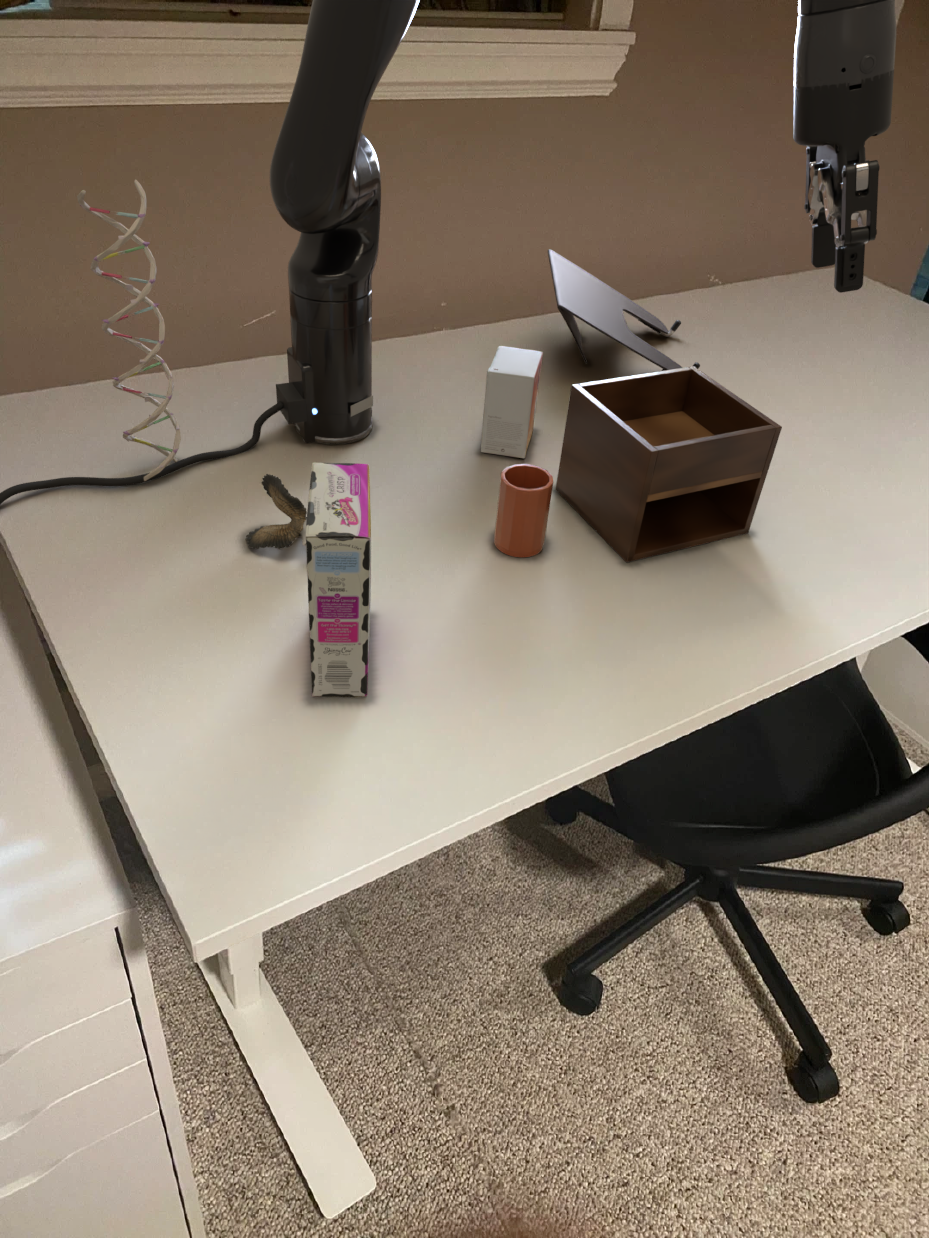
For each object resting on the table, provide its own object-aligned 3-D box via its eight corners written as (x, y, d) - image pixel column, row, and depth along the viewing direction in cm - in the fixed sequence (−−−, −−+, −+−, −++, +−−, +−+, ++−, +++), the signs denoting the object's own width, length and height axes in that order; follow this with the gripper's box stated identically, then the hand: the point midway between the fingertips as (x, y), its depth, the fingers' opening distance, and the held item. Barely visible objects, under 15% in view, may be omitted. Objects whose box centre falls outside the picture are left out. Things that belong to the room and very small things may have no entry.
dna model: (161, 452, 105) (116, 171, 86) (200, 471, 103) (162, 185, 83) (114, 474, 101) (54, 183, 82) (153, 494, 98) (101, 199, 79)
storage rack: (626, 562, 94) (651, 451, 86) (555, 490, 105) (571, 384, 96) (748, 533, 100) (782, 426, 92) (669, 467, 110) (693, 365, 102)
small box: (524, 460, 109) (535, 378, 103) (479, 453, 110) (486, 371, 103) (534, 430, 115) (544, 350, 109) (490, 423, 116) (498, 343, 109)
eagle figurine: (347, 514, 96) (266, 486, 96) (345, 486, 89) (257, 457, 89) (321, 579, 94) (238, 551, 93) (317, 556, 87) (227, 525, 87)
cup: (508, 562, 93) (516, 495, 88) (485, 534, 97) (491, 468, 92) (552, 552, 95) (562, 486, 90) (528, 525, 99) (537, 460, 93)
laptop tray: (664, 428, 131) (706, 376, 126) (529, 349, 124) (568, 291, 119) (642, 360, 149) (677, 313, 144) (523, 288, 141) (556, 236, 136)
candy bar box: (371, 699, 77) (371, 538, 66) (310, 700, 76) (302, 537, 66) (370, 614, 85) (370, 460, 75) (316, 614, 85) (308, 459, 74)
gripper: (777, 76, 80) (776, 265, 89) (815, 90, 68) (810, 307, 77) (867, 57, 79) (857, 252, 88) (922, 69, 67) (904, 292, 76)
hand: (835, 277), depth 82 cm, fingers open, 8 cm apart
